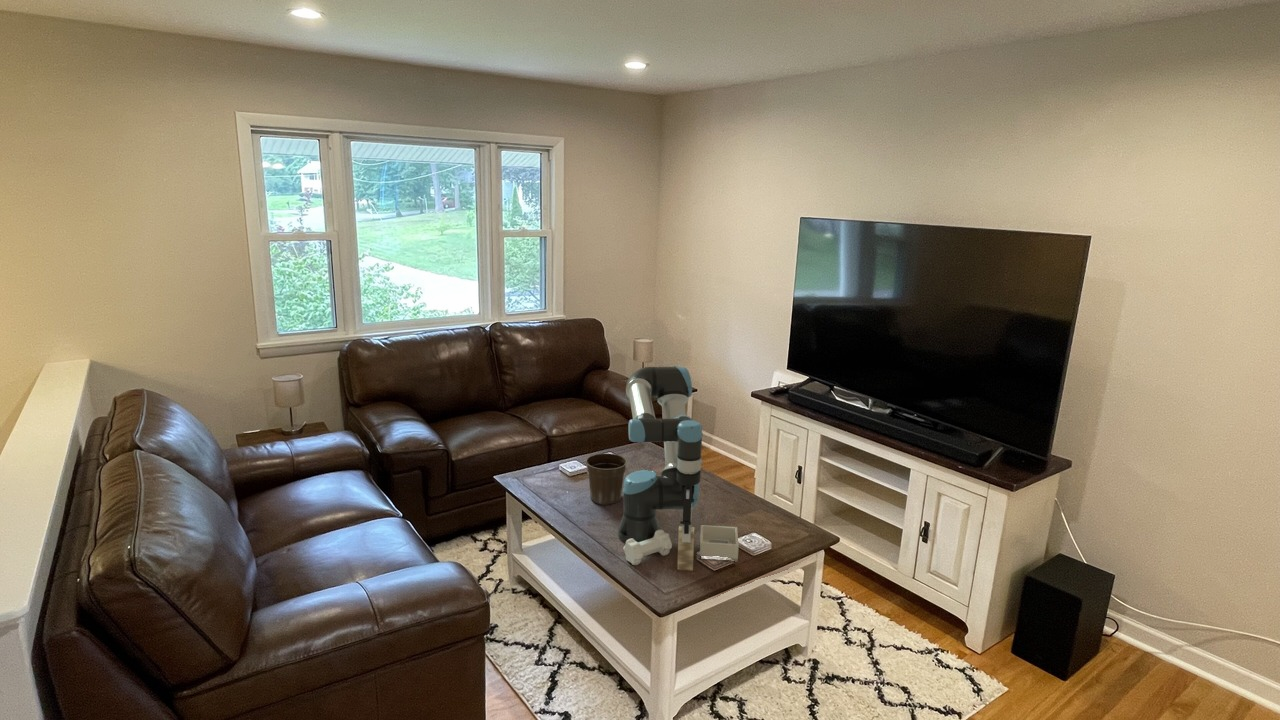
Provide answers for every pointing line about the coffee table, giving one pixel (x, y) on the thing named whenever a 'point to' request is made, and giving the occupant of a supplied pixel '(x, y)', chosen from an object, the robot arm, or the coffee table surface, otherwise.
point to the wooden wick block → (685, 551)
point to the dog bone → (647, 547)
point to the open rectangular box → (719, 541)
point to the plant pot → (606, 477)
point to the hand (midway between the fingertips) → (686, 531)
